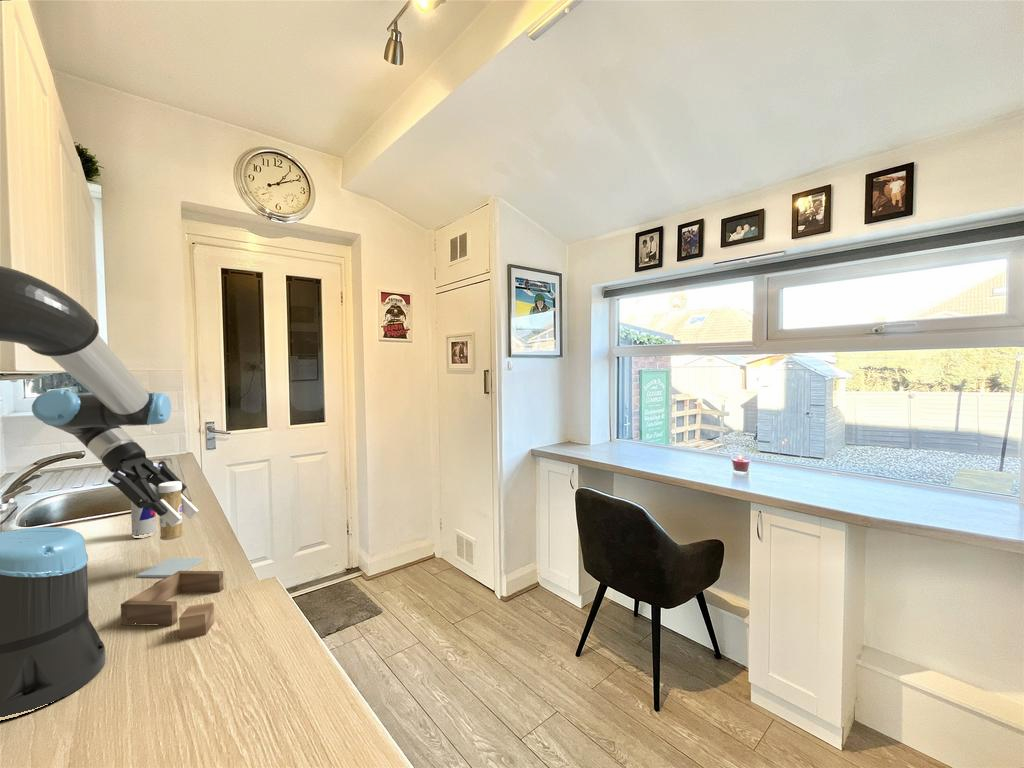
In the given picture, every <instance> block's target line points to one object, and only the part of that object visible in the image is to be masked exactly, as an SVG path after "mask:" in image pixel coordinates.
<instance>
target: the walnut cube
mask: <svg viewBox="0 0 1024 768" xmlns="http://www.w3.org/2000/svg"><path fill="white" fill-rule="evenodd" d="M214 604H215V603H214V602H206V603H200V604H193V605H188V606H187V608H186V609H185V610H184V611H183V613H182V614H181V615H180V616H179V617H178V624H179V625H178V626H179V639H180V640H184V639H190V638H195V637H201V636H202V637H203V636H207V634H208V632H209V631H210V629H212V627H213V625H214V624H215V606H214Z"/></svg>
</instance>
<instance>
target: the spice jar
mask: <svg viewBox="0 0 1024 768" xmlns="http://www.w3.org/2000/svg"><path fill="white" fill-rule="evenodd" d="M182 482H183V481H182ZM182 482H180V481H171V482H165V483H161V484H159V485H158V488H157V492H158V499H159V500H158V501H160V500H161V499H164V500H165V501H166V502H167V503H168V504H169V505H170V506H171V507H172V508H173V509H174V510H175V511H176V512H177V513H178V514H179V515H180V516H181V517H182V519H181V520H180V521H179V522H178V523H177V524H176V525H175V526H173V527H172V526H171V525H170V524H169V523H168V522H167V521H166V520H165V519H164V518H163V517H162V516H159V515H158V516H159V530H160V536H159V540H161V541H171V540H175V539H177V538H181V537H182V536H183V535H184V532H183V521H184V520H183V512H182V501H181V491H182V490H181V489H182Z"/></svg>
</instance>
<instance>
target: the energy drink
mask: <svg viewBox="0 0 1024 768" xmlns="http://www.w3.org/2000/svg"><path fill="white" fill-rule="evenodd" d="M140 501H142V500H140ZM144 508H145V507H143V508H138V507H137V506H136V505H135V504H134V503H133V502H132V501H131V500H130V513H131V514H130V517H131V536H132V535H134V536H139V535H144V534H149V533H151V532H154V531H155V530H156V531H157V523H156V522H157V520H156V515H157V513H156V512H155V511H154V510H153V509H152V508H150V509H149V510H146V509H144Z"/></svg>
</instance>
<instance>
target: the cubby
mask: <svg viewBox="0 0 1024 768" xmlns="http://www.w3.org/2000/svg"><path fill="white" fill-rule="evenodd" d="M163 579H164V580H162V579H161V580H162V581H160V580H159V581H160V582H159V583H157V584H155V583H154V584H155V585H154V584H153V585H151V586H150V587H149V588H147V589H145V590H143V591H142V592H141V591H140V593H137V594H135V595H134V596H132V597H131V598H129V599H127V600H125V601H123V602H122V603H121V604H120V625H121V624H135V623H136V624H158V625H157V626H162V625H172V626H174V625H176V624H177V623H178V622H179V619H178V601H176V600H173V601H171V600H169V599H171V598H173V597H174V596H176V595H177V594H179V593H180V592H196V593H199V592H202V593H204V592H205V593H207V592H209V593H210V592H212V593H214V592H215V593H219V592H220V593H221V592H222V591H223V590H224V589H225V588H224V587H225V586H224V585H225V584H224V570H187V571H178V572H176V573H174V574H173V575H171V576H169V577H167V578H166V579H165V578H163ZM177 621H178V622H177ZM176 622H177V623H176Z"/></svg>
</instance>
